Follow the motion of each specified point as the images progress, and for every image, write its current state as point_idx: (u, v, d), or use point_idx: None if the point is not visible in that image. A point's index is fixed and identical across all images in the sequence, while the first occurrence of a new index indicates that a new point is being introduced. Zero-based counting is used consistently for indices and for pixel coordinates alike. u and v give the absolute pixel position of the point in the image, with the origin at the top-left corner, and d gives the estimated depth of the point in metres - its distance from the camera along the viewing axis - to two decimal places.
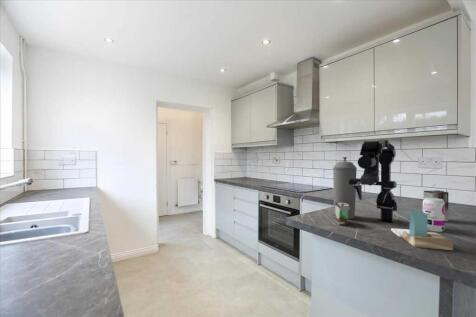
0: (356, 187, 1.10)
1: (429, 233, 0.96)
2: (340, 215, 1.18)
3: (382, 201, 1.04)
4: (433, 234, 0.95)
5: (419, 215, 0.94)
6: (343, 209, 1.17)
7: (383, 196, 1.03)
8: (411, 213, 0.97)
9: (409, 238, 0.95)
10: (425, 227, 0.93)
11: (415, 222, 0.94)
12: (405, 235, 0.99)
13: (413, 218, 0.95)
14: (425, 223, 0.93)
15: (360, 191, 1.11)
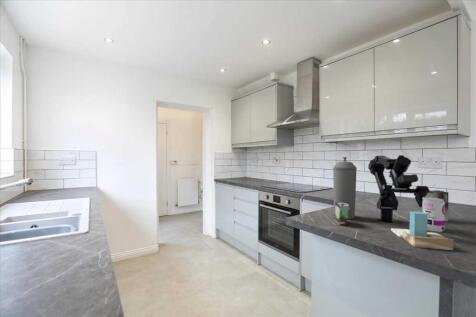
0: (392, 191, 1.06)
1: (429, 233, 0.96)
2: (340, 215, 1.18)
3: (421, 204, 1.02)
4: (433, 234, 0.95)
5: (419, 215, 0.94)
6: (343, 209, 1.17)
7: (421, 199, 1.03)
8: (411, 213, 0.97)
9: (409, 238, 0.95)
10: (425, 227, 0.93)
11: (415, 222, 0.94)
12: (405, 235, 0.99)
13: (413, 218, 0.95)
14: (425, 223, 0.93)
15: None
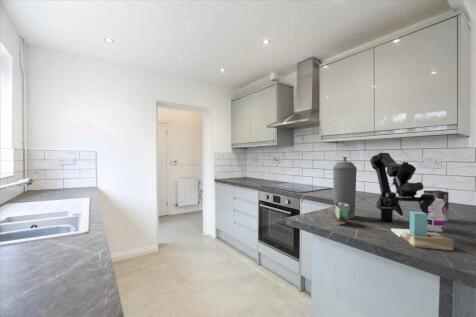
0: (396, 200, 1.02)
1: (429, 233, 0.96)
2: (340, 215, 1.18)
3: (427, 214, 0.97)
4: (433, 234, 0.95)
5: (419, 215, 0.94)
6: (343, 209, 1.17)
7: (426, 208, 0.99)
8: (411, 213, 0.97)
9: (409, 238, 0.95)
10: (425, 227, 0.93)
11: (415, 222, 0.94)
12: (405, 235, 0.99)
13: (413, 218, 0.95)
14: (425, 223, 0.93)
15: None
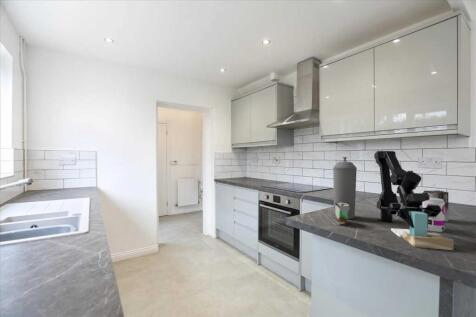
0: (407, 211, 0.97)
1: (429, 234, 0.96)
2: (340, 215, 1.18)
3: (427, 225, 0.94)
4: (433, 235, 0.95)
5: (419, 215, 0.94)
6: (343, 209, 1.17)
7: None
8: (411, 213, 0.97)
9: (409, 238, 0.95)
10: (425, 227, 0.93)
11: (415, 222, 0.94)
12: (405, 235, 0.99)
13: (413, 218, 0.95)
14: (425, 223, 0.93)
15: None
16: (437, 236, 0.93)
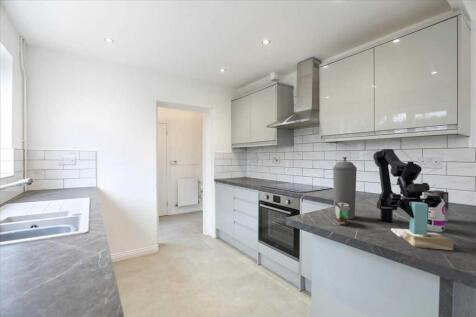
0: (407, 201, 0.97)
1: (429, 234, 0.96)
2: (340, 215, 1.18)
3: None
4: (433, 235, 0.95)
5: (419, 205, 0.93)
6: (343, 209, 1.17)
7: None
8: (411, 203, 0.96)
9: (409, 238, 0.95)
10: (425, 217, 0.93)
11: (415, 212, 0.94)
12: (405, 235, 0.99)
13: (413, 208, 0.95)
14: (425, 213, 0.93)
15: None
16: (437, 236, 0.93)
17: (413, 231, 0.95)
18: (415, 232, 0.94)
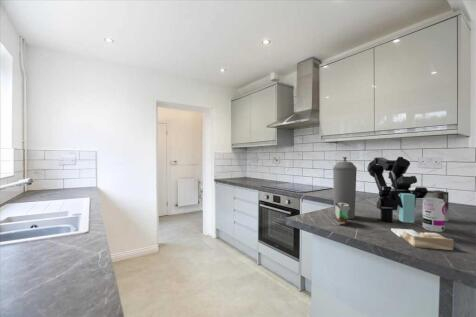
0: (396, 193, 1.07)
1: (430, 234, 0.96)
2: (340, 215, 1.18)
3: None
4: (434, 235, 0.94)
5: (407, 196, 1.03)
6: (343, 209, 1.17)
7: None
8: (400, 194, 1.06)
9: (409, 238, 0.95)
10: (413, 207, 1.03)
11: (404, 202, 1.04)
12: (405, 235, 0.99)
13: (402, 199, 1.05)
14: (413, 203, 1.03)
15: None
16: (437, 236, 0.93)
17: (402, 219, 1.05)
18: (404, 220, 1.04)
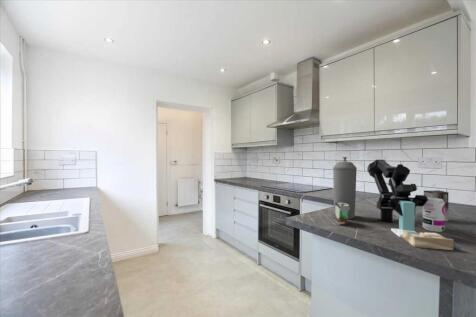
0: (396, 200, 1.07)
1: (429, 234, 0.96)
2: (340, 215, 1.18)
3: None
4: (434, 235, 0.94)
5: (407, 204, 1.03)
6: (343, 209, 1.17)
7: None
8: (400, 202, 1.06)
9: (409, 238, 0.95)
10: (413, 215, 1.03)
11: (404, 210, 1.04)
12: (405, 235, 0.99)
13: (402, 207, 1.05)
14: (413, 211, 1.03)
15: None
16: (437, 236, 0.93)
17: (402, 227, 1.05)
18: (403, 228, 1.04)
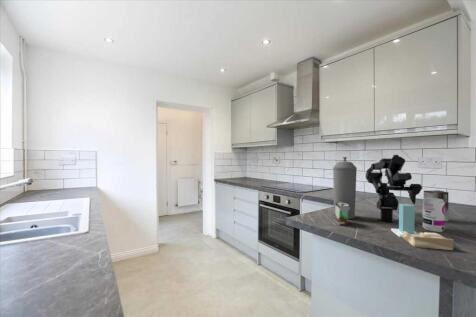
0: (387, 189, 1.12)
1: (429, 234, 0.96)
2: (340, 215, 1.18)
3: (414, 201, 1.07)
4: (433, 235, 0.95)
5: (407, 207, 1.03)
6: (343, 209, 1.17)
7: (414, 196, 1.09)
8: (400, 205, 1.06)
9: (409, 238, 0.95)
10: (412, 218, 1.03)
11: (404, 213, 1.04)
12: (405, 235, 0.99)
13: (402, 210, 1.05)
14: (412, 214, 1.03)
15: None
16: (437, 236, 0.93)
17: (402, 230, 1.05)
18: None
